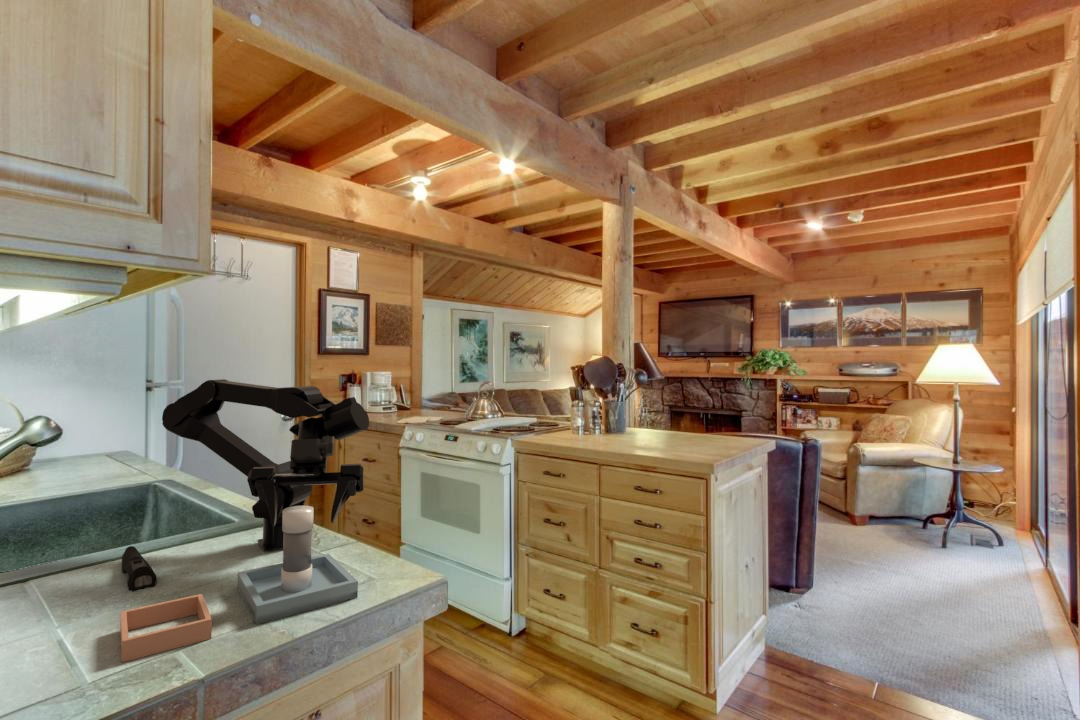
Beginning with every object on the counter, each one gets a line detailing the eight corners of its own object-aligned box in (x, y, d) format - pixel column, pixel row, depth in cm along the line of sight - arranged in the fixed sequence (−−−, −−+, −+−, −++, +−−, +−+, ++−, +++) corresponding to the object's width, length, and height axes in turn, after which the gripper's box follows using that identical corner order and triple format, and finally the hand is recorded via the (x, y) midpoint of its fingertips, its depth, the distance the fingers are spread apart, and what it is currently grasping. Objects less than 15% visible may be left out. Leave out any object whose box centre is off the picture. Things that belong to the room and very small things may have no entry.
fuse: (277, 584, 84) (279, 508, 84) (307, 578, 87) (308, 504, 87) (285, 595, 80) (286, 515, 80) (315, 587, 83) (317, 510, 83)
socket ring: (120, 630, 71) (120, 611, 71) (201, 611, 77) (202, 593, 77) (121, 662, 64) (122, 641, 64) (211, 638, 70) (211, 619, 70)
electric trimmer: (143, 560, 96) (144, 542, 96) (158, 587, 85) (158, 567, 85) (117, 565, 94) (117, 547, 94) (128, 594, 82) (128, 574, 82)
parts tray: (237, 588, 85) (237, 572, 85) (328, 567, 93) (328, 553, 93) (256, 624, 74) (256, 606, 74) (357, 597, 82) (357, 581, 82)
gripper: (250, 421, 93) (232, 501, 82) (364, 419, 98) (360, 495, 87) (260, 457, 100) (244, 536, 90) (365, 454, 106) (361, 528, 95)
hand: (303, 523), depth 90 cm, fingers open, 9 cm apart
